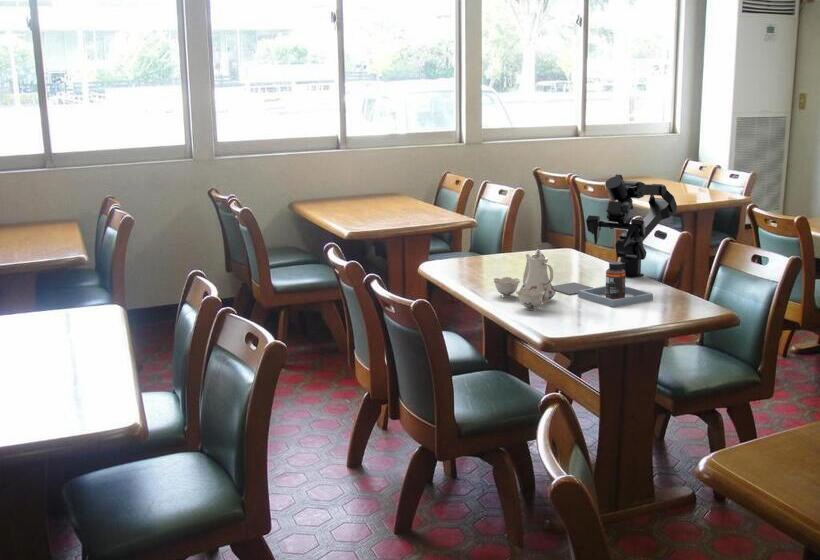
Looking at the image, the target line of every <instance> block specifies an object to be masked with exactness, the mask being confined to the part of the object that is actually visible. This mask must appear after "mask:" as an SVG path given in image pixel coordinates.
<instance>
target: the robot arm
mask: <svg viewBox="0 0 820 560" xmlns="http://www.w3.org/2000/svg"><path fill="white" fill-rule="evenodd" d="M623 178H624V177H623V175H622V174H617V173H616V174H615V175H614V176H612V177H610V178H608V179H607V180H606V181H605V185H604V186H605V188H606V190H607V192H608V195H609V197H610V199H611V200H612V201H610V200H609V201H608V202H607V205H606V210H605V211H606V213H607V215H606V220H605V219H601V217H600V216H599V215H587V216H586V219H585V222H586V228H587V231H588V232H589V233H590V234H591V235H593V239H594V241H593V242H594V245H597V244H598V241H599V239H600V235H601V230H602V228H609V229H610V230H612V229H613V230H622V233H621V234H620V235H618V238H617V239H616V242H615V251H616V252H615V253H616V257H617V258H621V259H620V262H622V268H623V269H624V270H625V278H637V277H643V276H644V275H645V273H641V270H642V269H641V267H642V260H643V261H644V260H645V259H646V257H647V251H646V248H645V247H644V241H645V240H646V238H647V237H648V236H649V235H650V234H651V233H652V231H653V230H654V229H655V228H656V227H657V226H658V225H659V223H660V222H661V221H664V220H666V219H670V218H671V217H672V216H673V215H674V214H675V213H676V211H677V208H678V205H677V202H676V199H675V196H674V195H673V194H672V193H670V191H669V190H668V189H667V186H666V185H665V184H662V183H651V184H650V183H649V184H646V183H644V182H642V181H637V180H624V179H623ZM645 196H649V199H648V204H649V209H650V211H649V212H648V213H647V214H646V215H645V216H644V218H643V219H638V218H637V219H635V218H632V219H631V220H630V223H629V222H628V220H629V214H630V210H633V209H634V205H633V199H638V200H639V199H641V198H643V197H645ZM655 196H658V197H655ZM660 197H661V198H660Z"/></svg>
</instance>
